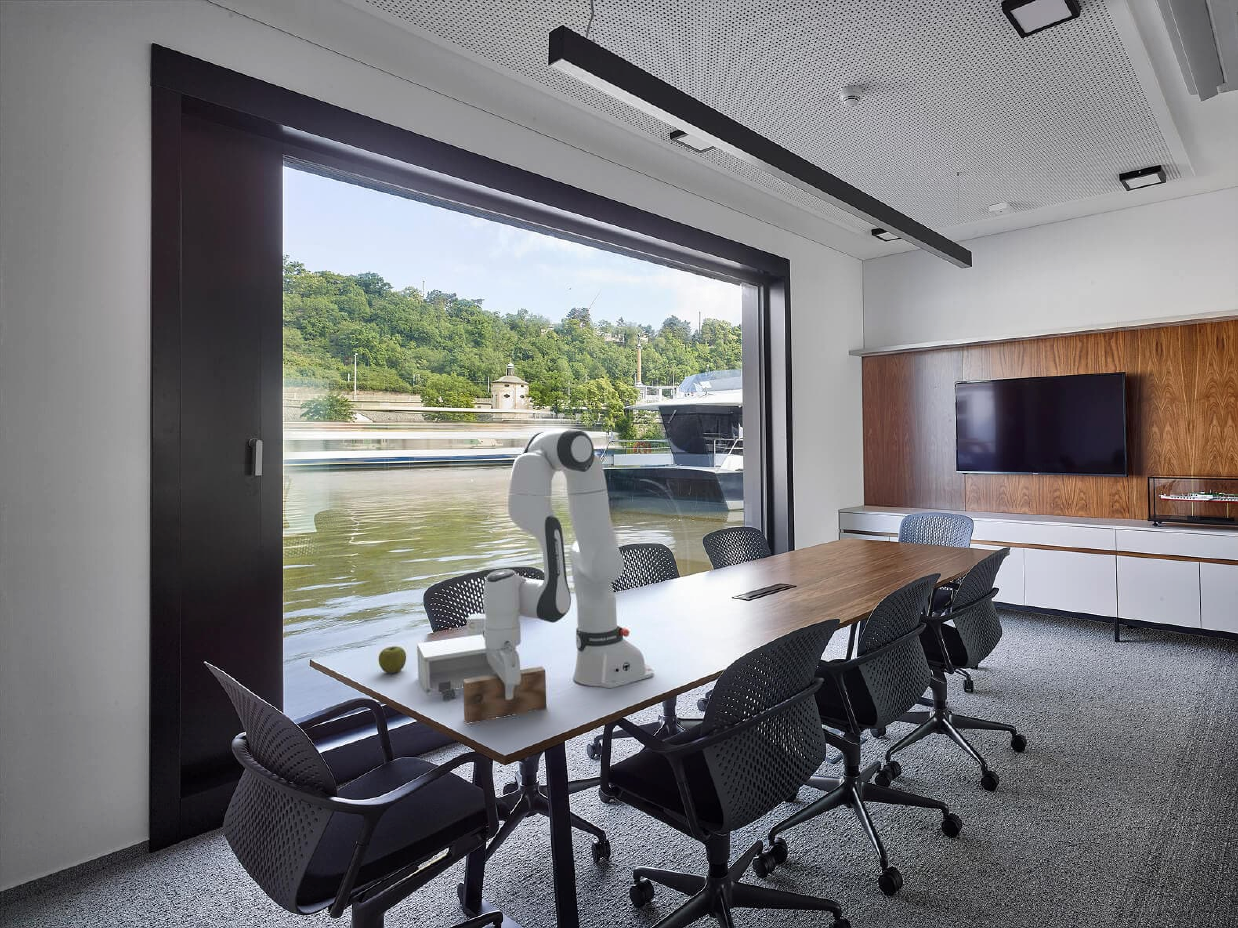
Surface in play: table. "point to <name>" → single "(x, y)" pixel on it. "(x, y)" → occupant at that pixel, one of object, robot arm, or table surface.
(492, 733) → the table surface
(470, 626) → the small box
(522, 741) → the table surface
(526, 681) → the door
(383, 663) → the apple
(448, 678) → the cabinet
